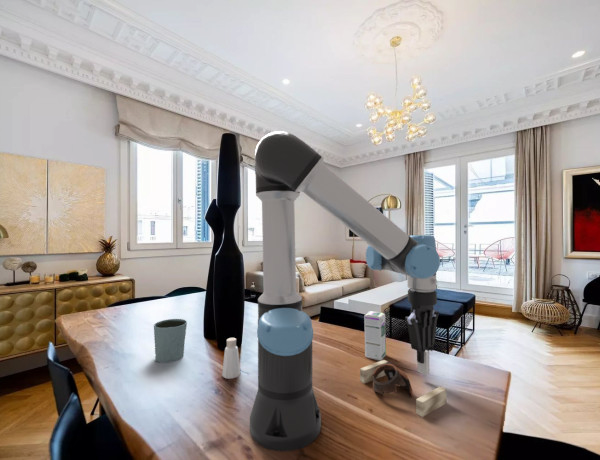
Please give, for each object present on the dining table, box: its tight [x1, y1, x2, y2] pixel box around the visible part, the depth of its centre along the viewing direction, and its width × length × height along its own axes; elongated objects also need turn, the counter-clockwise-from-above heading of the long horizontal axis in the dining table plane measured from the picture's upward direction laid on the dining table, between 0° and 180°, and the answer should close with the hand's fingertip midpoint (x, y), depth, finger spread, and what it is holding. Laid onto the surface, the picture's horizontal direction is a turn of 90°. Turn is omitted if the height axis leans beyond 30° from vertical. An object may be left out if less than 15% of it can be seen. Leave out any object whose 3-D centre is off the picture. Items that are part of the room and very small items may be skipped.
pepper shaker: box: [221, 337, 241, 379], centre depth 82 cm, size 5×5×11 cm
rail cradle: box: [359, 359, 447, 418], centre depth 73 cm, size 10×19×4 cm, turn 33°
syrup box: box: [363, 310, 387, 361], centre depth 95 cm, size 6×6×14 cm
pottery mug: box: [371, 361, 414, 399], centre depth 73 cm, size 12×9×8 cm
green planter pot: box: [153, 318, 188, 364], centre depth 94 cm, size 10×10×12 cm
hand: (423, 373), depth 78 cm, fingers closed
